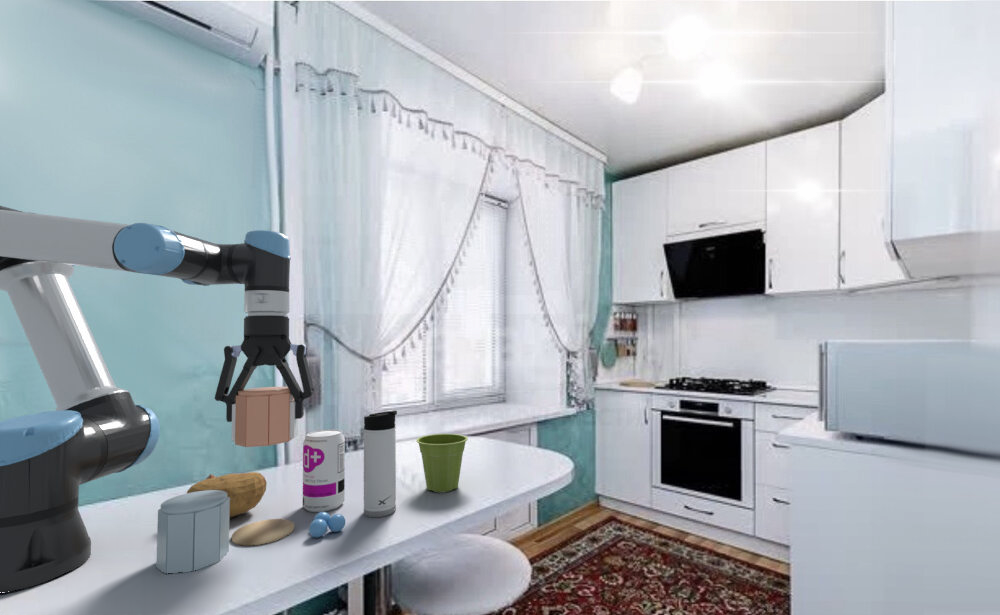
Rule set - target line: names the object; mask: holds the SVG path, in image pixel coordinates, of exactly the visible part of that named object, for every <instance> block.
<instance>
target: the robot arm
mask: <svg viewBox="0 0 1000 615" xmlns="http://www.w3.org/2000/svg"><path fill="white" fill-rule="evenodd" d="M243 242H244V243H236V244H235V243H233V244H232V243H229V244H227V243H225V244H224V243H222V244H221V243H215V242H214V243H213V242H211V241H208V240H204V239H202V238H197V237H193V236H192V235H188V234H184V233H181V232H178V231H174V230H172V229H169V228H168V227H166V226H163V225H157V224H153V223H146V222H137V223H133V224H127V223H118V222H117V223H116V222H108V221H101V220H93V219H92V220H91V219H85V218H76V217H66V216H58V215H50V214H43V213H35V212H26V211H22V210H18V209H14V208H10V207H7V206H3V205H0V290H1V291H4V292H7V295H8V297H9V300H10V301H11V305H12V306H13V309H14V310H15V313H16V316H17V317H18V320H19V323H20V325H21V326H22V329H23V332H24V335H25V336H26V338H27V341H28V342H29V346H30V348H31V349H32V352H33V354H34V356H35V359H36V361H37V363H38V366H39V367H40V368H39V369H40V370H41V373H42V375H43V377H44V380H45V382H46V384H47V386H48V388H49V391H50V393H51V396H52V398H53V399H54V402H55V404H56V408H55V410H50V411H41V412H38V413H33V414H25V415H20V416H15V417H10V418H6V419H4V420H1V421H0V592H1V593H2V592H8V591H13V592H15V591H14V590H17V591H19V590H18V589H20V590H23V588H24V589H27V588H30V586H31V587H34V586H37V585H40V584H44V583H46V582H48V580H49V581H51V580H54V579H56V578H55V577H57V576H59V575H61V576H63V575H62V574H64V573H66V572H68V573H70V572H71V570H72V571H73V570H75V569H77V568H79V567H81V566H82V565H84V564H85V563H86V562H87V561H88V560H89V559H88V558H91V556H90V555H92V540H91V536H89V533H88V531H87V528H86V525H85V523H84V520H83V518H82V515H81V513H80V511H79V499H80V498H79V494H80V485H83V484H87V483H89V482H92V481H95V480H98V479H100V478H103V477H106V476H109V475H112V474H116V473H121V472H125V471H126V470H128V469H130V468H131V467H134V466H136V465H139V464H141V463H143V462H144V461H145V460H146V459H148V457H150V456H151V454H153V452H154V450H155V448H156V445H157V444H158V441H159V440H160V435H161V427H160V421H159V419H158V417H157V415H156V414H155V412H154V411H153V410H152V409H151V408H149V407H146V406H145V405H140V404H135V401H134V399H133V398H132V395H131V393H130V391H129V390H127V389H123V388H120V387H117V386H116V384H115V382H114V380H113V377H112V376H111V373H110V371H109V369H108V366H107V364H106V362H105V360H104V358H103V355H102V353H101V350H100V348H99V346H98V344H97V342H96V339H95V337H94V335H93V333H92V331H91V328H90V325H89V324H88V322H87V319H86V317H85V315H84V313H83V310H82V308H81V306H80V304H79V300H77V297H76V295H75V293H74V290H73V288H72V285H71V283H70V281H69V279H70V278H71V276H72V275H73V274H74V272H75V269H74V267H75V266H79V267H88V268H98V269H104V270H113V271H121V272H122V271H123V272H128V273H129V272H131V273H134V274H135V273H137V274H144V275H153V276H160V277H166V278H167V277H168V278H174V279H180V280H181V281H182V282H183V283H184V284H188V285H191V286H192V285H193V286H204V287H208V286H211V285H212V286H215V285H216V286H217V285H235V284H236V285H244V295H243V296H244V298H243V300H244V304H243V305H244V306H243V307H244V308H243V309H244V310H243V312H244V313H245V314H247V316H245V317H244V318H243V341H242V342H241V344H240V345H225V346H224V348H223V354H224V361H223V365H222V368H221V371H220V372H221V373H220V377H219V380H218V382H217V387H216V391H215V393H214V394H215V395H214V400H215V401H217V402H222V403H224V404H225V405H226V408H225V409H226V414H225V415H226V416H225V417H226V418H225V419H226V422H227V423H231V442H235V416H236V395H238V391H240V390H244V389H246V386H247V384H248V382H249V380H250V379H251V377H252V375H253V373H254V371H255V370H256V369H257V367H262V366H265V365H266V366H268V367H269V366H275V367H276V369H277V370H278V371H279V373H280V375H281V377H282V378H283V381H284V383H285V384H286V387H288V388H289V390H290V392H291V394H292V396H293V398H294V401H292V402H290V438H293V439H295V438H296V437H298V436H299V419H302V418H303V417H304V414H305V412H304V410H305V408H304V407H305V404H304V403H305V402H304V401H305V400H306V399H308V398H310V397H312V396H314V395H315V389H314V385H313V381H312V376H311V372H310V367H309V363H308V360H307V359H308V358H307V351H308V346H307V345H306V344H295V343H292V342H291V340H290V317H289V316H287V314H289V313H290V269H291V268H290V264H291V258H292V257H291V252H290V239H289V237H288V236H287V235H285V234H284V233H281V232H278V231H273V230H266V229H265V230H263V229H262V230H261V229H257V230H251V231H250V230H249V231H247V232H246V234H245V237H244V241H243ZM290 351H292V354H293V356H295V359H296V363H297V368H298V372H299V377H300V381H301V385H302V388H301V386H300V385H299V382H298V381H297V379H296V377H295V375H294V373H293V371H292V370H291V368H290V364H289V363H288V361H287V359H286V356H287V355H288V354H289V352H290ZM241 352H242V353H243V354H244V355H245V357H246V358H247V359H246V361H245V363H244V364H243V366H242V369H241V372H240V373H239V374H238V377H237V379H236V380H235V382H234V384H233V386H232V388H231V384H232V380H233V377H234V373H235V369H236V365H237V363H238V358H239V357H240V355H241ZM230 388H231V389H230ZM69 571H70V572H69ZM66 574H67V573H66ZM64 575H65V574H64ZM59 577H60V576H59ZM53 578H54V579H53ZM57 578H58V577H57ZM50 579H51V580H50ZM8 593H9V592H8Z"/></svg>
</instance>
